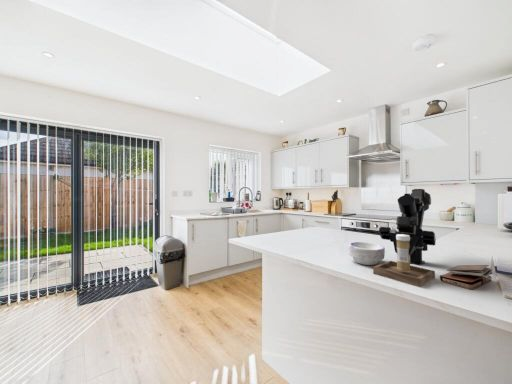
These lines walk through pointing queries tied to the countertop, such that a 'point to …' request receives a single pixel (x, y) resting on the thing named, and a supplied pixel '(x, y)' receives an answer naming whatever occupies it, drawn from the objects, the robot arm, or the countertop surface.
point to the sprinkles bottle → (403, 252)
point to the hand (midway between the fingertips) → (402, 253)
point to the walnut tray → (404, 273)
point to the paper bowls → (366, 252)
